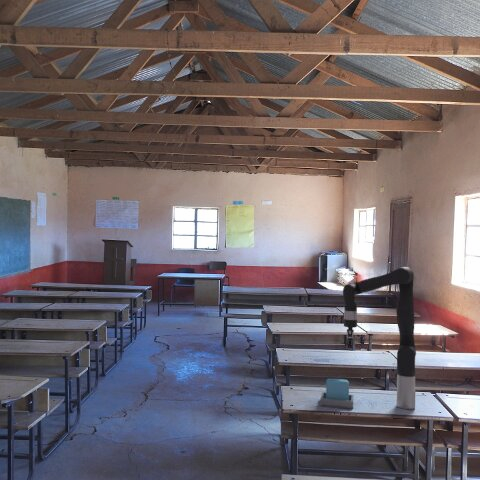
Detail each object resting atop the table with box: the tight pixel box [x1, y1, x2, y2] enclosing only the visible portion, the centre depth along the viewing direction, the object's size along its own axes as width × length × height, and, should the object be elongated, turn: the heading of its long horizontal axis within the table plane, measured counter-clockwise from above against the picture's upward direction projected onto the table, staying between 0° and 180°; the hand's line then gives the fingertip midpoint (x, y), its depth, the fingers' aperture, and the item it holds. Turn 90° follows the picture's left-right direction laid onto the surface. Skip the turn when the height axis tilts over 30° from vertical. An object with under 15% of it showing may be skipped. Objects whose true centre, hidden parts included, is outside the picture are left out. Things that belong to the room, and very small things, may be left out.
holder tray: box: [319, 391, 354, 410], centre depth 272 cm, size 17×12×4 cm
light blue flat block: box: [325, 378, 350, 401], centre depth 272 cm, size 12×4×12 cm, turn 79°
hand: (349, 346), depth 288 cm, fingers open, 8 cm apart
